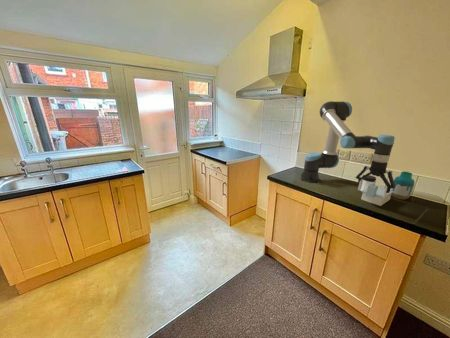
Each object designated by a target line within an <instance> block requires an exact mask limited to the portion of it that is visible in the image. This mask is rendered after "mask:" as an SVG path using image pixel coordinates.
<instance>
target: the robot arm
mask: <svg viewBox="0 0 450 338" xmlns="http://www.w3.org/2000/svg"><path fill="white" fill-rule="evenodd" d="M352 114H353V106H352V104H351V103H350V102H349V101H343V100H342V101H331V100H330V101H327V102H325V103H324V104H322V105H321V107H320V109H319V115H320V117H321V119H322V120H323V121H325V122H326V123H327V125H328V126H329V127H328V128H329V129H328V132H327V137H326V141H325V146H324V150H322V151H321V153H320V152H308V153H307V154H305V158H304V165H303V171H302V173H301V175H300V180H302V181H303V182H307V183H319V182H320V174H319V169H333V168H335V167H337V166H338V164H339V161H340V158H339V156H338V152H337V147H338V144H339V143H340V147H341V148H342V149H348V150H349V149H371V150H374V151H373V152H374V153H373V156H372V160H371V163H370V166H368V165H365V166H364V167H363V169H362V170H361V171H360V172H359V173H358V174H357V175H356V176H355V179H357V180H358V181H357V185H358V188H357V191H361V190H360V189H361V187H362V183H363V180H362V179H363V178H365V177H367V176H369V175H371V176H374V177H380V179H381V180H382V181H383V183H384V185H385V186H386V187H385V188H384V189H385V191H384V195H383V198H385V197H386V195H387V193H389V192H390V190H391V188H395V187H396V186H395V183H394V177H393V171H392V170H391V171H390V170H388V171H387V167H388V163H389V160H390V156H391V153H392V149H393V147H394V144H395V139H396V138H395V136H394V135H389V134H379V135H378V136H372V135H365V134H364V135H362V136H361V135H358V136H357V135H355V134H354V133H353V131H351V129H350V128H349V127H348V126H347V125H346V124H345V122H346V121H347V118H348V117H350V116H351V115H352ZM368 170H369V172H367V173H366V174H364V173H365V172H366V171H368ZM385 174H386V175H387V176H388V178H387V177H386V175H385ZM363 175H364V176H363Z"/></svg>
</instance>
